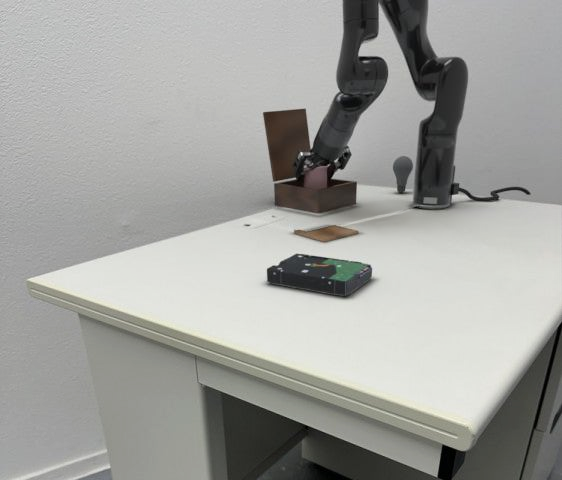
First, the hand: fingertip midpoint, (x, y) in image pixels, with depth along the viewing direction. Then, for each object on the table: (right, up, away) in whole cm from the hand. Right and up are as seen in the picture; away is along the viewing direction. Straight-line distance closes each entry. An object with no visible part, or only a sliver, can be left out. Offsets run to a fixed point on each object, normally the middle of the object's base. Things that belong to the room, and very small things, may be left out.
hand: (312, 179), depth 141 cm
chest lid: (-6, +9, +1) cm, 11 cm away
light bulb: (+26, +2, +16) cm, 31 cm away
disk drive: (-2, -35, -49) cm, 61 cm away
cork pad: (+2, -20, -22) cm, 29 cm away
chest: (+1, -7, +2) cm, 7 cm away
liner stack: (+1, -6, +2) cm, 6 cm away
